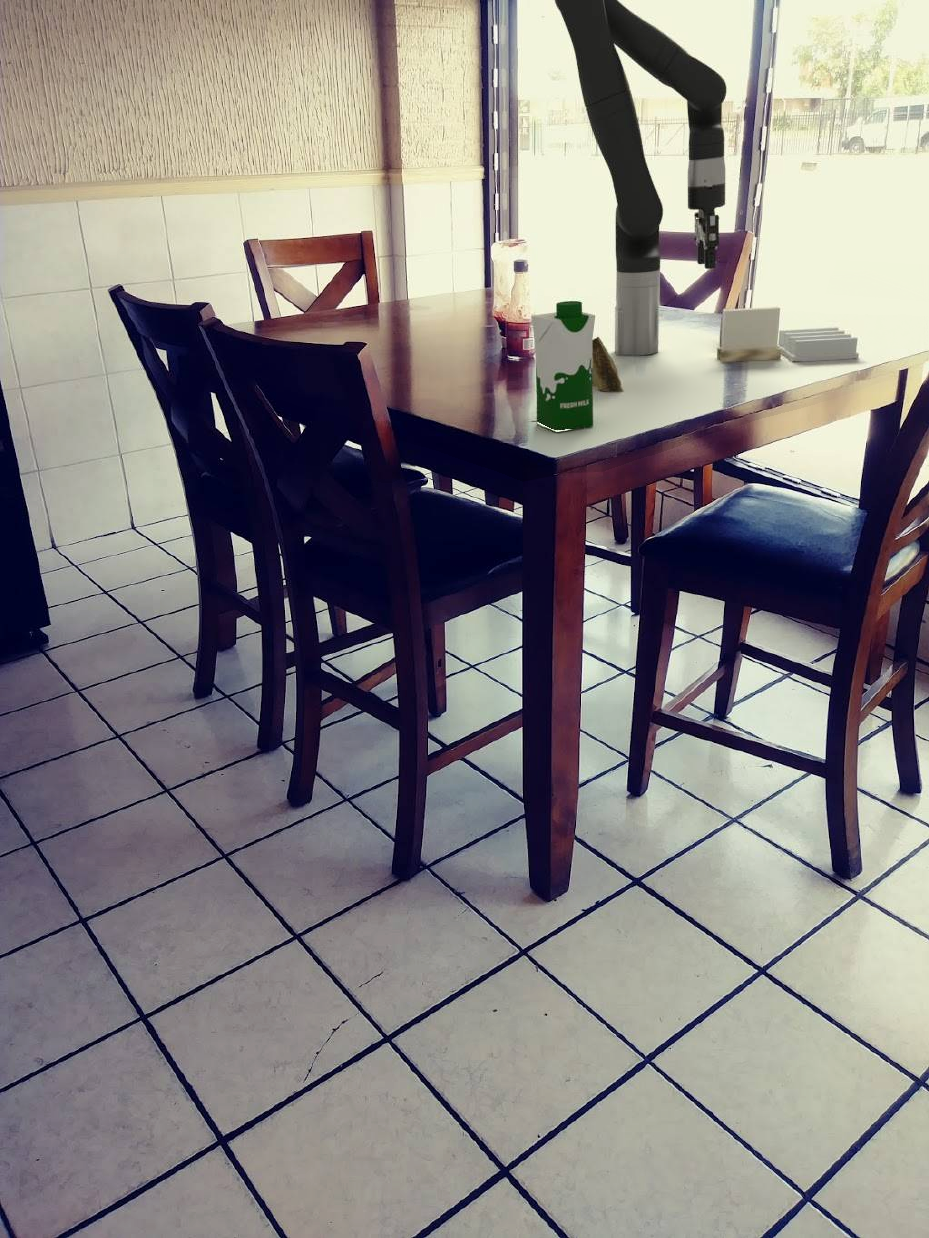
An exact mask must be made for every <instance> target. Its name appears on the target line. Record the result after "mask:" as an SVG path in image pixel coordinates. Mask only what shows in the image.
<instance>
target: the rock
mask: <svg viewBox="0 0 929 1238" xmlns="http://www.w3.org/2000/svg"><path fill="white" fill-rule="evenodd" d="M592 370H593V384H594V385H595V386H596V387H597V388H598V389H597V388H596V387H595V386H594V385H593V386H594V387H595V388H596V389H597V390H598V391H600V390H602V391H601V392H609V391H619V392H620V391H623V390H624V389H623V387H622V383H621V379H620V378H619V374H618V372H619V371H618V368H617V366H616V364H615V362H614V360H613V358H612V356H611V355H610V353H609V352H608V349H607V348H606V346H605V345H604V343H603V341H602V339H601V338H600V337H599V336H597V337H595V338H593V340H592ZM623 392H624V391H623Z"/></svg>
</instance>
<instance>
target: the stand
mask: <svg viewBox="0 0 929 1238" xmlns="http://www.w3.org/2000/svg"><path fill="white" fill-rule="evenodd" d="M716 349H717V350H716V359H720V362H721V363H728V362H729V363H731V362H733V363H734V362H735V363H736V362H752V361H767V360H768V361H769V360H770V361H771V360H781V358H782V354H781V348H772V349H753V350H735V351H721V347H717V348H716Z"/></svg>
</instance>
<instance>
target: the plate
mask: <svg viewBox="0 0 929 1238" xmlns="http://www.w3.org/2000/svg"><path fill="white" fill-rule="evenodd" d="M722 312H723V323H722V342H721V344H720V345H721V347H720V348H721V351H735V350H753V349H772V348H777V344H779V331H780V330H779V327H780V318H781V315H780V314H781V308H780V306H766V307H749V308H747V307H744V308H729V309H727V310H722Z"/></svg>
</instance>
